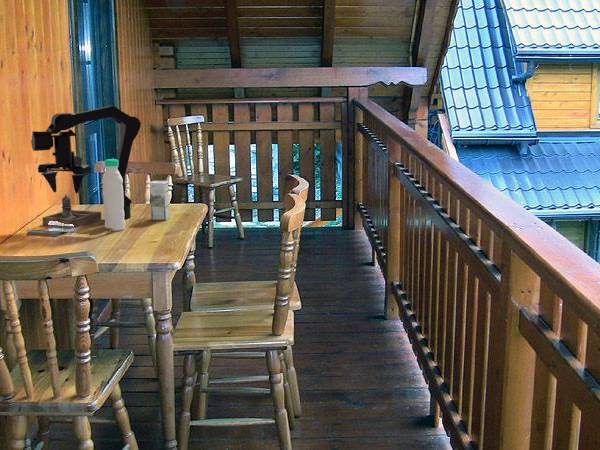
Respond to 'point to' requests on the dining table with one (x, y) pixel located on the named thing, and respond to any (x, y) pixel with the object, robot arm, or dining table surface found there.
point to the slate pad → (45, 233)
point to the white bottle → (113, 196)
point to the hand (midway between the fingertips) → (65, 192)
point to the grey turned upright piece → (66, 208)
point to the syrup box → (159, 200)
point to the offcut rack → (80, 219)
